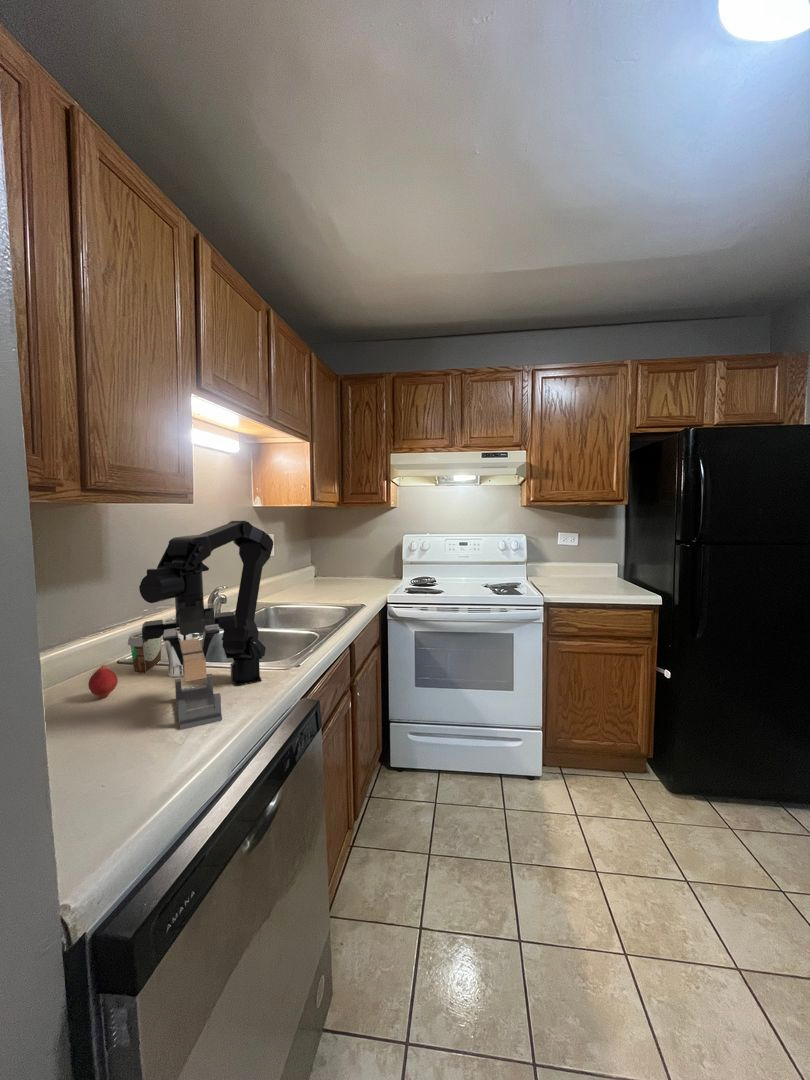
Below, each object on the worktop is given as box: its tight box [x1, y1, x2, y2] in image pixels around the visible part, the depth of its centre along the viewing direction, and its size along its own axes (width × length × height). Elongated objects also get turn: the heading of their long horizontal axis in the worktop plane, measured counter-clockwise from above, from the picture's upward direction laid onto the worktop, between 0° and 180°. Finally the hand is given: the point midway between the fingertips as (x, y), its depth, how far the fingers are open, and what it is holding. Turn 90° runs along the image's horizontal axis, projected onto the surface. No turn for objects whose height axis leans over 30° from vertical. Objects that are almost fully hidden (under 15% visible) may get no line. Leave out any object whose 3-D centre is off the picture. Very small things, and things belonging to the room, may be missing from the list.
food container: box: [127, 630, 162, 674], centre depth 131 cm, size 12×6×10 cm, turn 4°
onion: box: [87, 664, 118, 699], centre depth 110 cm, size 6×6×8 cm
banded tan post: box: [180, 638, 207, 682], centre depth 102 cm, size 4×18×4 cm, turn 29°
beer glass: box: [163, 617, 193, 678], centre depth 126 cm, size 7×7×15 cm
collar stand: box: [174, 673, 223, 731], centre depth 103 cm, size 8×18×5 cm, turn 29°
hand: (192, 662), depth 102 cm, fingers closed on banded tan post, 4 cm apart
